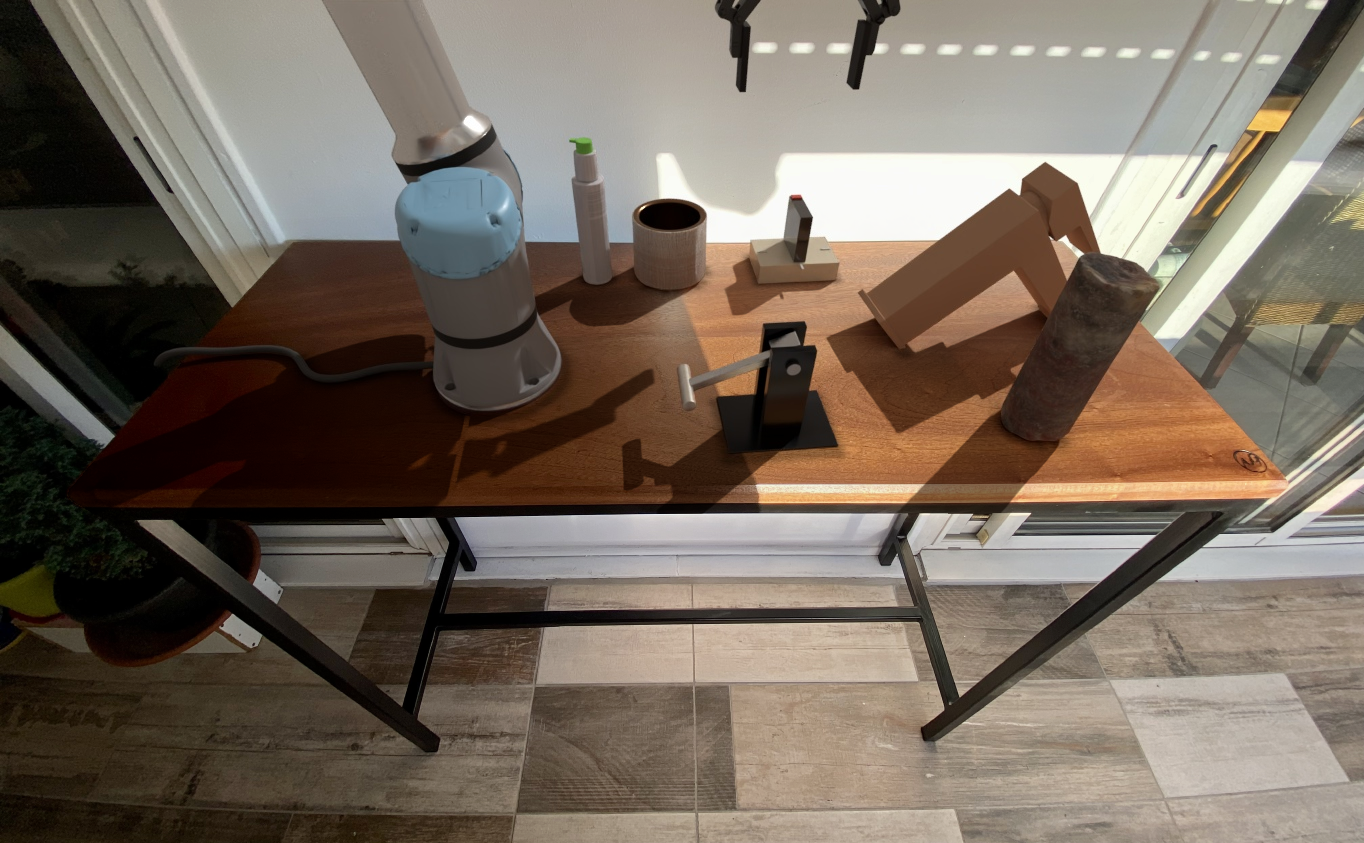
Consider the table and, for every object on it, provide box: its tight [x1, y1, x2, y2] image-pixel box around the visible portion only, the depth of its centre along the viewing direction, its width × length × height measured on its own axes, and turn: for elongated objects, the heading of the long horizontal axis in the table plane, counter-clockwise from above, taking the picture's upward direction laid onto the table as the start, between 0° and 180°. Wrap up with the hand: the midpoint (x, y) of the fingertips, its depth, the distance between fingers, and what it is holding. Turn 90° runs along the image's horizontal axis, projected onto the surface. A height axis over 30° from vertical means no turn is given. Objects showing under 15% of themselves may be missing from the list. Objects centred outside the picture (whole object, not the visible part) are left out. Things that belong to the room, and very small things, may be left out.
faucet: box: [857, 161, 1102, 350], centre depth 78 cm, size 7×23×25 cm
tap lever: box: [676, 331, 801, 412], centre depth 61 cm, size 13×6×2 cm, turn 96°
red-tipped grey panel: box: [783, 194, 814, 262], centre depth 88 cm, size 7×2×7 cm, turn 6°
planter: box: [631, 197, 708, 292], centre depth 88 cm, size 11×11×10 cm
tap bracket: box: [716, 320, 839, 455], centre depth 64 cm, size 12×9×13 cm
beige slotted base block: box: [748, 236, 840, 285], centre depth 92 cm, size 12×11×3 cm
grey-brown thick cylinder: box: [1000, 252, 1161, 442], centre depth 62 cm, size 8×7×20 cm
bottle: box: [568, 137, 613, 286], centre depth 83 cm, size 4×4×20 cm
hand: (797, 88), depth 71 cm, fingers open, 13 cm apart
